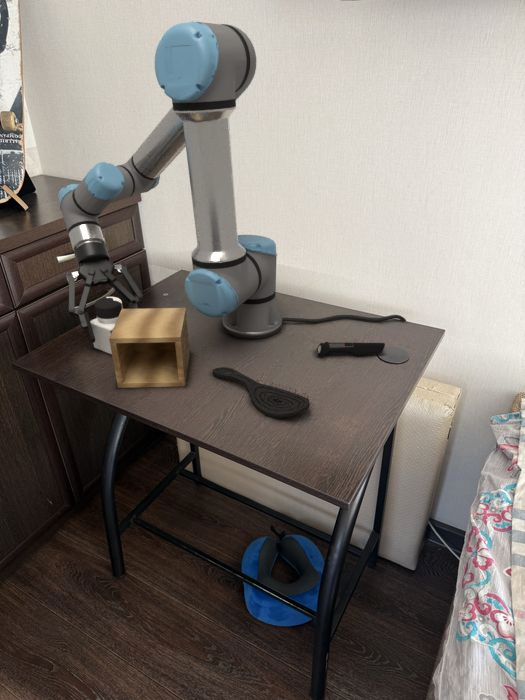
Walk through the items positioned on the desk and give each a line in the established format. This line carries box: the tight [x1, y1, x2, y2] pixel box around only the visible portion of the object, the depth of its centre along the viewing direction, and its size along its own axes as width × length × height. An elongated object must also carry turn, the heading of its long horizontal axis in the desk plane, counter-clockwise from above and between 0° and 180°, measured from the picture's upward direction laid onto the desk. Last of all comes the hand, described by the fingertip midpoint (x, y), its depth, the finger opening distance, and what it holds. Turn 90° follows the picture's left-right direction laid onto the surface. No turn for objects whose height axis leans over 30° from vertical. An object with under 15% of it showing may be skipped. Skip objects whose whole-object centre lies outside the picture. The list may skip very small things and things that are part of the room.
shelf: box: [109, 307, 191, 389], centre depth 107 cm, size 14×13×12 cm
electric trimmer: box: [316, 341, 386, 358], centre depth 116 cm, size 4×16×3 cm, turn 91°
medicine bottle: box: [90, 296, 124, 355], centre depth 116 cm, size 7×7×12 cm
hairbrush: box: [212, 366, 311, 419], centre depth 102 cm, size 8×4×25 cm
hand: (116, 335), depth 115 cm, fingers closed on medicine bottle, 9 cm apart
